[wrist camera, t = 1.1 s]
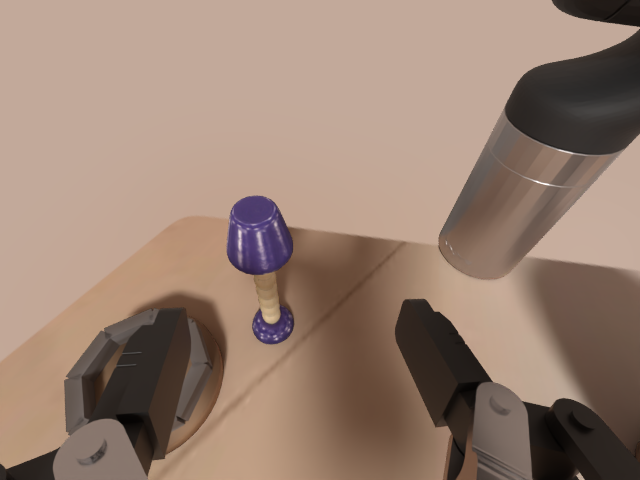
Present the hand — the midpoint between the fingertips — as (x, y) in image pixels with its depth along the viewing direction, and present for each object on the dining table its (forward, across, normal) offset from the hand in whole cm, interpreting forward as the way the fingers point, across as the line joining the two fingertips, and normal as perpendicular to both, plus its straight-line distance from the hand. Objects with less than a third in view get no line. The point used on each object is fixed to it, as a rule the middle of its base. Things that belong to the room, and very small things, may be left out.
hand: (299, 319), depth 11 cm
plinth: (+11, +11, +18) cm, 24 cm away
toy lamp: (+15, 0, +16) cm, 22 cm away
